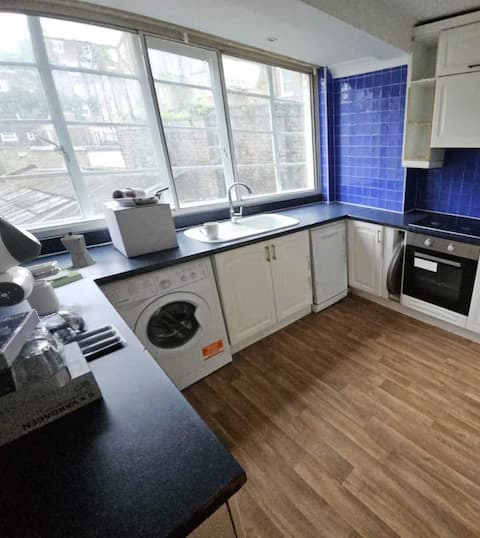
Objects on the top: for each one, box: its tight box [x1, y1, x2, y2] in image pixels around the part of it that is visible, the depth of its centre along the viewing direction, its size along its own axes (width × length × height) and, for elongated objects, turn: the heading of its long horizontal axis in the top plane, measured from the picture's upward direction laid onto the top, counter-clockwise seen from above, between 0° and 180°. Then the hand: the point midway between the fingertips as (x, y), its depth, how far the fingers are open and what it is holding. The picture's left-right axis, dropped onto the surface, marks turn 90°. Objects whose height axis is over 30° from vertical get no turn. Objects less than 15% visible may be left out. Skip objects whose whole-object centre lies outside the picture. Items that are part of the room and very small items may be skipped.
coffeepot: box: [60, 231, 95, 269], centre depth 153 cm, size 15×9×18 cm, turn 67°
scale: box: [35, 268, 83, 289], centre depth 136 cm, size 14×14×3 cm
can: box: [25, 280, 62, 316], centre depth 109 cm, size 8×8×12 cm
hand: (18, 272), depth 96 cm, fingers open, 8 cm apart
